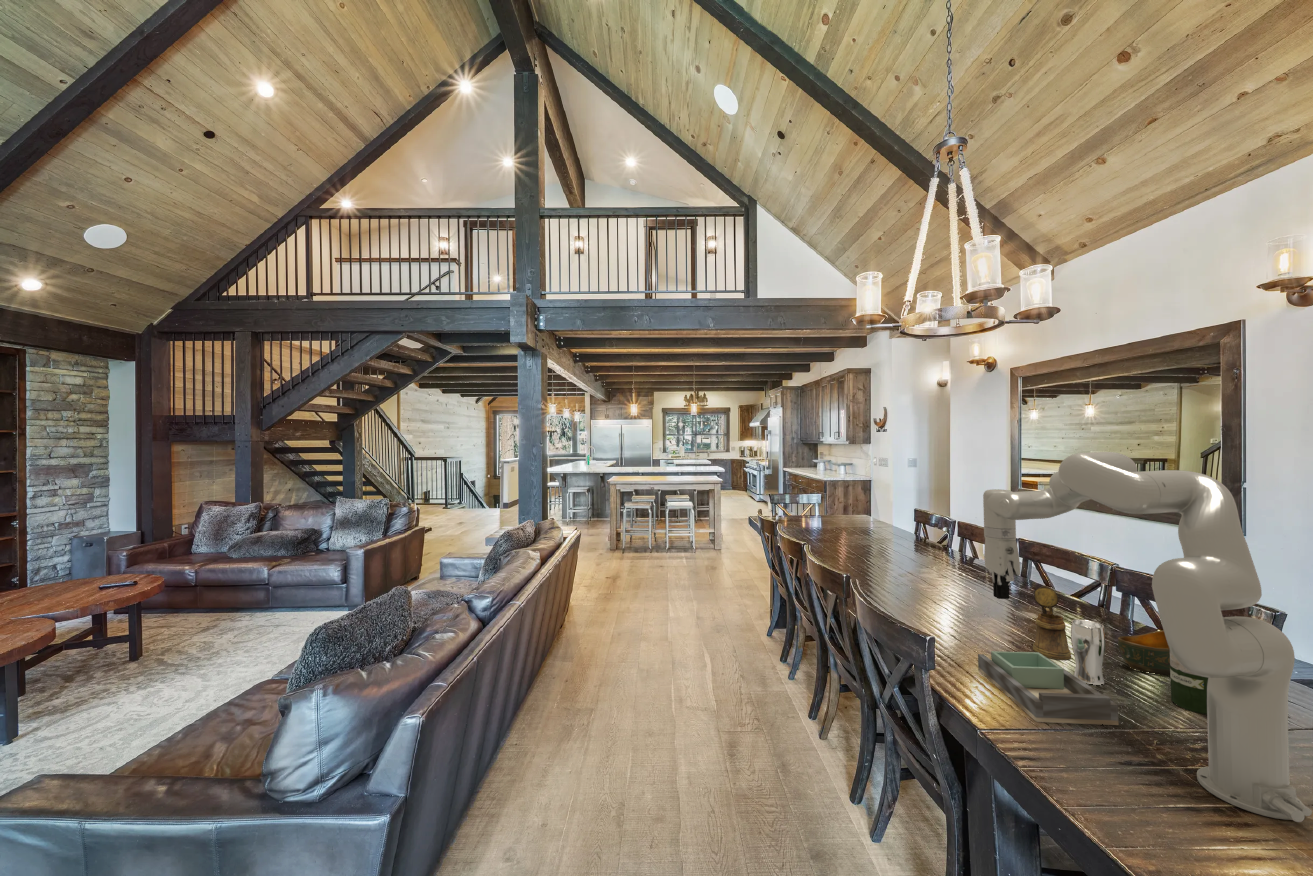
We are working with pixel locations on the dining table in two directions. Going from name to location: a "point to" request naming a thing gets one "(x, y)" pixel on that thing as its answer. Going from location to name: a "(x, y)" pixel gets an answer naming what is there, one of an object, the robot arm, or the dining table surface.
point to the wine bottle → (1187, 688)
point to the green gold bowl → (1146, 652)
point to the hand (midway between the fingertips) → (1001, 597)
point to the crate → (1030, 669)
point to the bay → (1054, 698)
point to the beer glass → (1088, 650)
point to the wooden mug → (1050, 627)
